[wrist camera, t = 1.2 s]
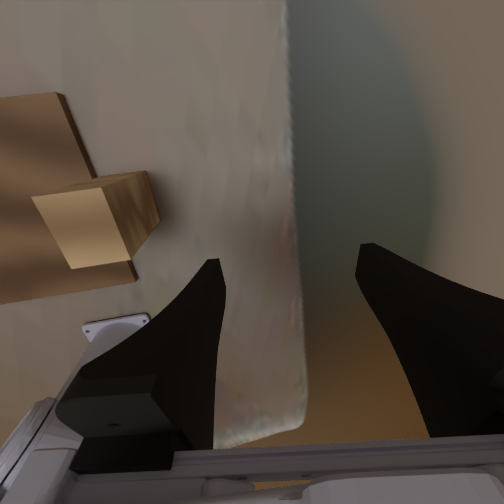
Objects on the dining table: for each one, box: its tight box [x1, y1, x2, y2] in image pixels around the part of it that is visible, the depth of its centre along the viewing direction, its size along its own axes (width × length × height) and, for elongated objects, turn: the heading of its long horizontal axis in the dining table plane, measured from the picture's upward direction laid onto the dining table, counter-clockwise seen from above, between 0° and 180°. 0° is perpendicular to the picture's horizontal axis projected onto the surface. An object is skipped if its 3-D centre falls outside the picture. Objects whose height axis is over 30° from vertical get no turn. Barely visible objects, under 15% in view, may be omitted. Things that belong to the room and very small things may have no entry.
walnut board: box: [0, 92, 138, 305], centre depth 21 cm, size 18×15×1 cm
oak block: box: [31, 171, 160, 269], centre depth 18 cm, size 5×4×9 cm
